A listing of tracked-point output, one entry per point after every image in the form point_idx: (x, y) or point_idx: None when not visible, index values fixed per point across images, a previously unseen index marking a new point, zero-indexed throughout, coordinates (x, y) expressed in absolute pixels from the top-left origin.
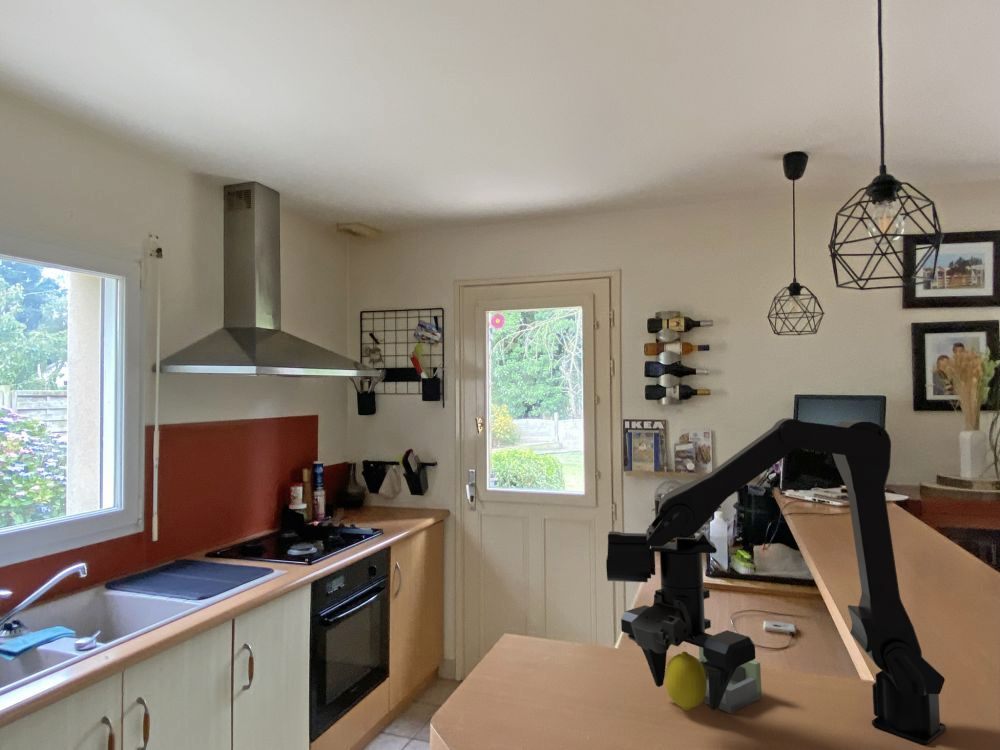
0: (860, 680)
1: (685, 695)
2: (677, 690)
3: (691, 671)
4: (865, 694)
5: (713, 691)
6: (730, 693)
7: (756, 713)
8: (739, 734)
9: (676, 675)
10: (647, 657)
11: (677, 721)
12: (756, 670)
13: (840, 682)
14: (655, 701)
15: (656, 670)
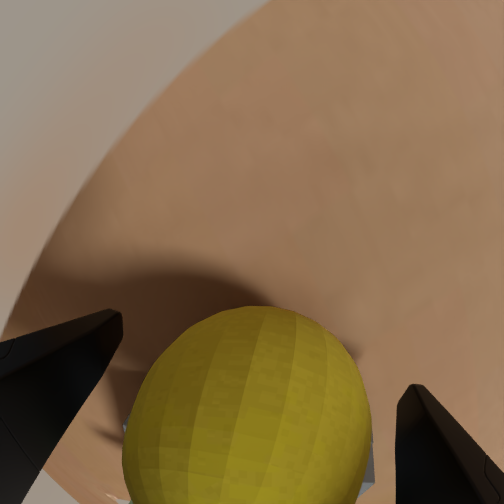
0: (114, 495)
1: (205, 324)
2: (247, 332)
3: (129, 452)
4: (84, 470)
5: (35, 336)
6: (127, 419)
7: (119, 394)
8: (72, 270)
9: (232, 413)
10: (494, 476)
11: (262, 230)
12: (131, 500)
13: (123, 493)
14: (410, 334)
15: (434, 440)
